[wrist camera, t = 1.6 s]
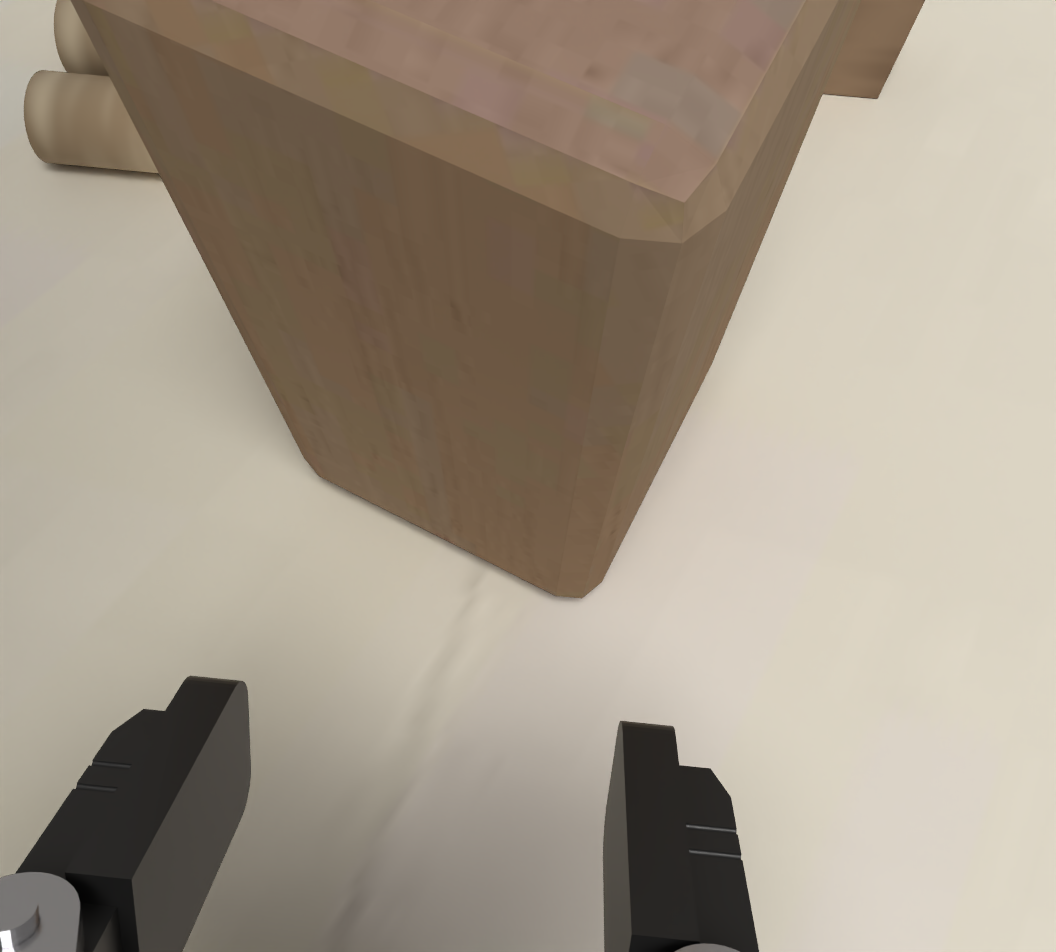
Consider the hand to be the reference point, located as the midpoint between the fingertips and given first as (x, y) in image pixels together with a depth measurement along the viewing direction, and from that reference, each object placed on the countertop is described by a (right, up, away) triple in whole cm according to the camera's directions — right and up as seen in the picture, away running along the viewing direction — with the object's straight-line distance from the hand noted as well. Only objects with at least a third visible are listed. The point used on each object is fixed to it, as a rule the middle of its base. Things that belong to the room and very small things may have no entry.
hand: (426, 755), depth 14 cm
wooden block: (+1, +6, +19) cm, 20 cm away
